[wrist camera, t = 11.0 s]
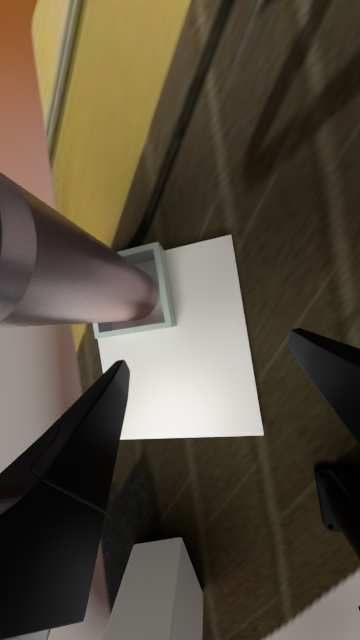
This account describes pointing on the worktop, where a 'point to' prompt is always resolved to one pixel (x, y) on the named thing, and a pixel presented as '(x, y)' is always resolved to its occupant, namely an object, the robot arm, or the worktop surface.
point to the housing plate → (186, 347)
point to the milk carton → (158, 595)
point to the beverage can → (62, 269)
